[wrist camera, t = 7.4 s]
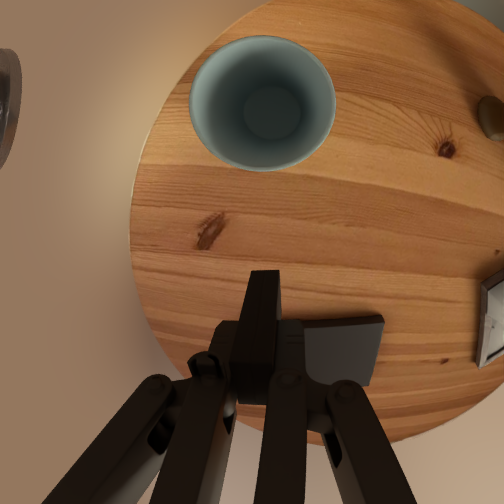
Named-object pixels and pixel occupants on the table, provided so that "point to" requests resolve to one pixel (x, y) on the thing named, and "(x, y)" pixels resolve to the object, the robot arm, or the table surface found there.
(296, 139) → the cup
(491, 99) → the kendama
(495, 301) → the picture frame
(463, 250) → the table surface
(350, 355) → the scale
